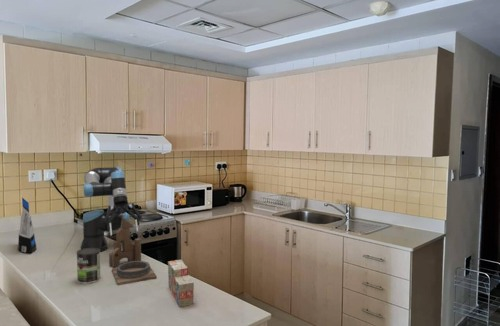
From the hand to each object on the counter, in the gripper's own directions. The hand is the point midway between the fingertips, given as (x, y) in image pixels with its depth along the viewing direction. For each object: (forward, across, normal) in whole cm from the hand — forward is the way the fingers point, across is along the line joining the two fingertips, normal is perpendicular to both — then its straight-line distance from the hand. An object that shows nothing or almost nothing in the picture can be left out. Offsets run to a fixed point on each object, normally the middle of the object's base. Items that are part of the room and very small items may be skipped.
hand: (124, 233), depth 202 cm
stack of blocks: (+42, +15, -40) cm, 60 cm away
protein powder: (-12, -50, +47) cm, 70 cm away
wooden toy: (+16, -1, +4) cm, 16 cm away
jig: (+25, +1, -12) cm, 28 cm away
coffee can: (+23, -19, -10) cm, 32 cm away
